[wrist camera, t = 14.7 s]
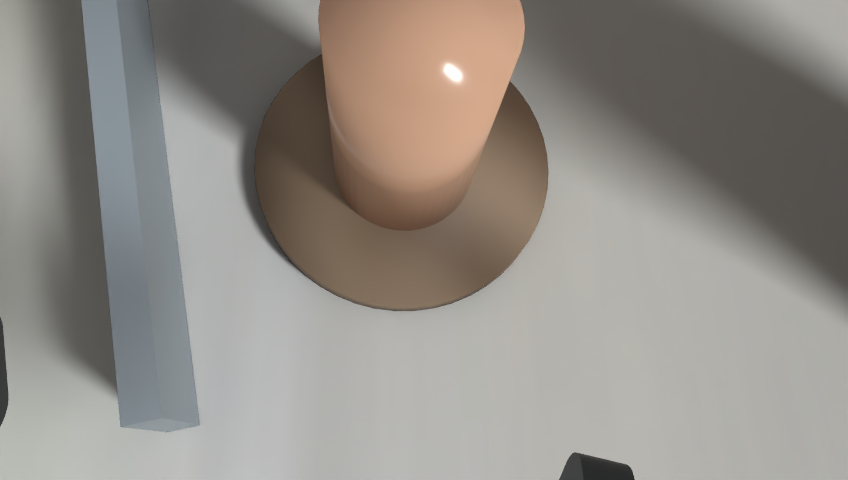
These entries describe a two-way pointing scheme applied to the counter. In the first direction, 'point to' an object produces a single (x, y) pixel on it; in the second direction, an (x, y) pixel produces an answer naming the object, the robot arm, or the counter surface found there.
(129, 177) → the low wall
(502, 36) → the peach rounded cylinder
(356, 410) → the counter surface
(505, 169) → the walnut coaster
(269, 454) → the counter surface
